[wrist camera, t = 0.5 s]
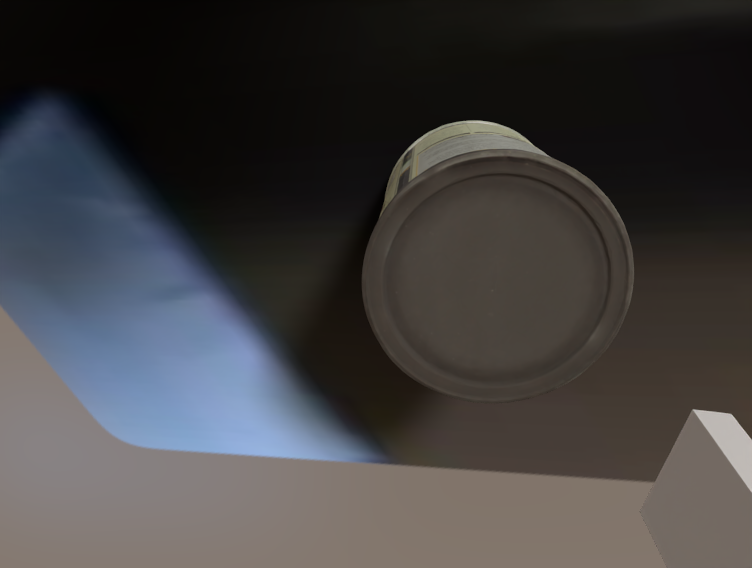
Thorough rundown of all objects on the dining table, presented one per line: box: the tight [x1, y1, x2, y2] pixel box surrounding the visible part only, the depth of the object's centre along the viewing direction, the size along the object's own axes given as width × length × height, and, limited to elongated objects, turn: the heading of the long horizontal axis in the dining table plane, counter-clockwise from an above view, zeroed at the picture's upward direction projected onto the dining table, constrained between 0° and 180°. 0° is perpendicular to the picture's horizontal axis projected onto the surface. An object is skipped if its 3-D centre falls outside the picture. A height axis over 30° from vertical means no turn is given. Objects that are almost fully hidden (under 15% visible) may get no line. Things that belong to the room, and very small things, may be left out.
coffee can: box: [362, 120, 634, 403], centre depth 30 cm, size 10×10×14 cm
